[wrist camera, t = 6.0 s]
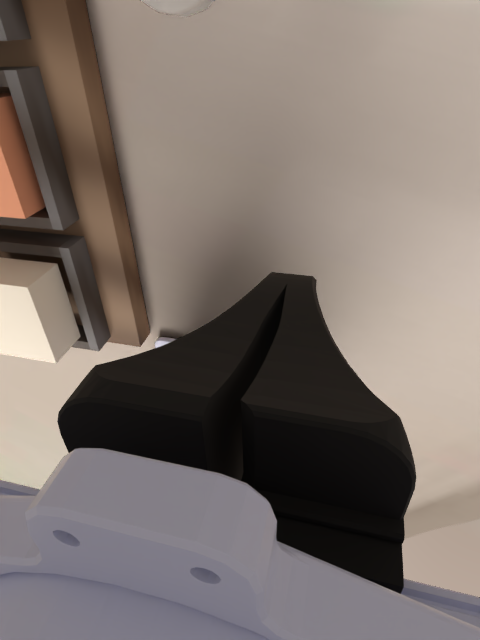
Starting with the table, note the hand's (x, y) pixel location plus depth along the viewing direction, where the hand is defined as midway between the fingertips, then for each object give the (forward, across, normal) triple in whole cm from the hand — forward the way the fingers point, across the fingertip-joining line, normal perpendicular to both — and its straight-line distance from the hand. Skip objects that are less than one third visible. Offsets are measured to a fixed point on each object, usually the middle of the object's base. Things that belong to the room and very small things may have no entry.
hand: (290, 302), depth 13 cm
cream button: (+6, +16, +6) cm, 18 cm away
